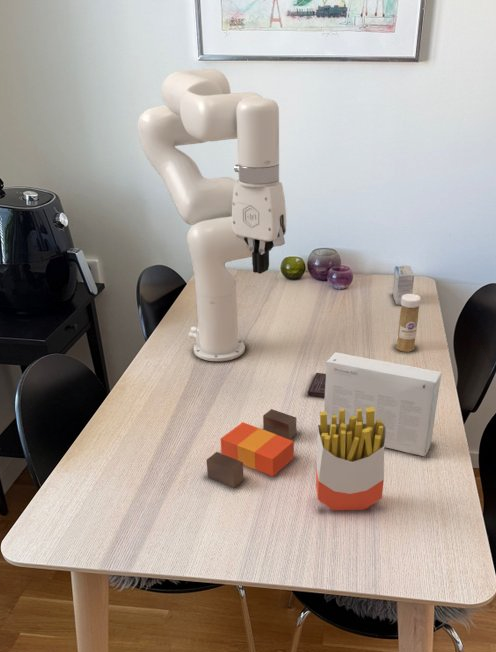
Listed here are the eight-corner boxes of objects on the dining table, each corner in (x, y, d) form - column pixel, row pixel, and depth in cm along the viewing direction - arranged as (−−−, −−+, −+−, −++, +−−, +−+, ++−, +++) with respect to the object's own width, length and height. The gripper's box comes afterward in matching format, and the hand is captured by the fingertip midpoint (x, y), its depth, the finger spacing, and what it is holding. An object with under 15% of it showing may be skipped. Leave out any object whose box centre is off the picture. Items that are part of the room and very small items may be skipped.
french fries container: (380, 510, 114) (390, 421, 104) (317, 512, 114) (320, 423, 104) (376, 494, 118) (385, 406, 108) (315, 495, 118) (318, 408, 107)
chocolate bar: (316, 372, 153) (395, 381, 149) (316, 376, 153) (394, 385, 150) (307, 391, 146) (390, 401, 142) (307, 395, 146) (390, 405, 142)
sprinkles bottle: (402, 353, 163) (408, 301, 155) (392, 346, 166) (397, 294, 159) (418, 350, 164) (424, 298, 157) (408, 343, 168) (414, 291, 160)
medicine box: (411, 305, 187) (414, 275, 183) (395, 305, 188) (398, 275, 183) (407, 294, 194) (410, 265, 189) (391, 294, 194) (394, 265, 189)
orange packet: (221, 455, 128) (220, 438, 126) (243, 438, 133) (242, 421, 130) (272, 477, 122) (272, 459, 120) (293, 458, 127) (294, 440, 125)
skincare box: (432, 443, 131) (443, 371, 122) (425, 457, 127) (436, 384, 118) (331, 419, 138) (334, 350, 129) (321, 433, 134) (324, 362, 125)
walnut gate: (207, 477, 122) (206, 459, 120) (271, 425, 137) (271, 408, 134) (234, 488, 120) (233, 470, 117) (296, 434, 134) (296, 417, 132)
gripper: (214, 173, 124) (219, 269, 135) (281, 183, 117) (281, 284, 128) (238, 165, 129) (241, 259, 140) (304, 175, 122) (302, 272, 133)
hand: (260, 270), depth 134 cm, fingers closed
